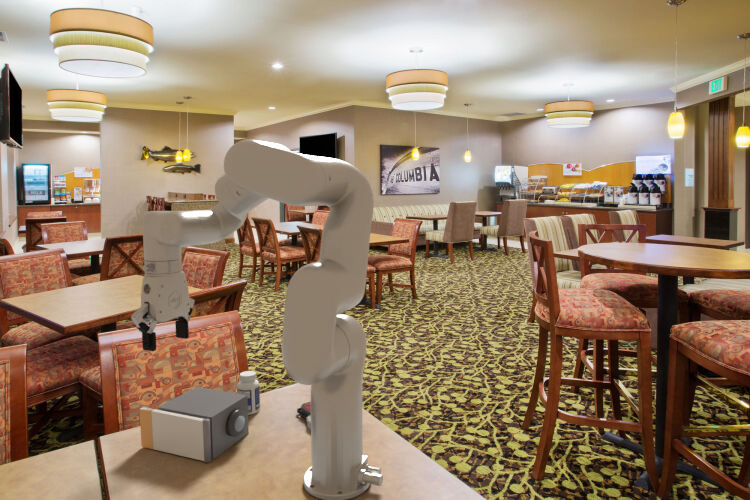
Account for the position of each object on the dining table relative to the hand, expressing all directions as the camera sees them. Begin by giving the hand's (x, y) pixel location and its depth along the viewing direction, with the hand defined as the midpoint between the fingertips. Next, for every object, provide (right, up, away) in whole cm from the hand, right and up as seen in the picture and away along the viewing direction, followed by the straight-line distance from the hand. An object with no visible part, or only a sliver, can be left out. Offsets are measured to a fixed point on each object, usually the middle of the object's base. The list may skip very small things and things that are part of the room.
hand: (166, 343), depth 108 cm
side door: (+5, -22, -7) cm, 23 cm away
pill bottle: (+15, -20, +14) cm, 28 cm away
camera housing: (+9, -21, -1) cm, 23 cm away
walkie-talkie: (+35, -21, +6) cm, 41 cm away
